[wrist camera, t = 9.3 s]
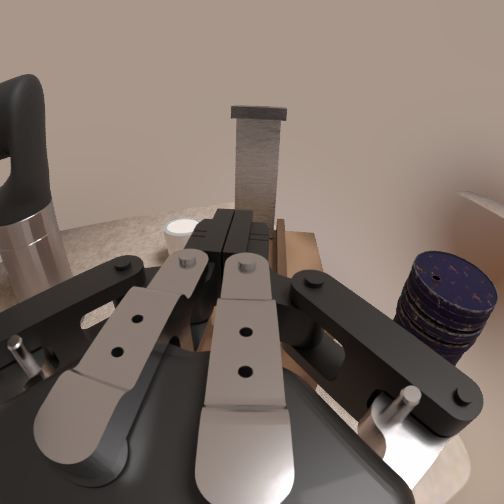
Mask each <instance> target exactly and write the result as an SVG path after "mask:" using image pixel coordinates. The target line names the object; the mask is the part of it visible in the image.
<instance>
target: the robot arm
mask: <svg viewBox="0 0 504 504" xmlns="http://www.w3.org/2000/svg"><path fill="white" fill-rule="evenodd" d="M46 150H47V149H46V132H45V103H44V94H43V89H42V86H41V84H40V81H39V80H38V78H37V77H36V76H34V75H31V74H26V75H22V76H19V77H15V78H13V79H10V80H7V81H5V82H2V83H0V160H1V159H4V158H7V157H11V173H10V176H9V178H8V179H7V181H6V182H5V183H4V185H3V186H1V187H0V255H1V258H2V260H3V263H4V266H5V268H6V276H7V279H8V281H9V283H10V286H11V288H12V290H13V292H14V295H15V297H16V299H17V301H18V303H19V304H17V305H15V306H13V307H11V308H9V309H7V310H5V311H3V312H1V313H0V504H415V500H414V496H413V493H412V491H411V489H412V487H413V486H414V485H415V484H416V483H417V482H418V480H419V479H420V478H421V477H422V475H423V474H424V473H425V472H426V470H427V469H428V468H429V467H430V465H431V464H432V463H433V461H434V460H435V459H436V457H437V456H438V454H439V453H440V452H441V450H442V449H443V447H444V446H445V444H446V443H447V442H448V441H449V440H450V439H452V438H453V437H454V436H455V435H457V434H458V433H459V432H460V431H461V430H462V429H463V428H465V427H466V426H467V425H468V424H469V423H470V422H472V420H474V419H475V418H476V417H477V416H478V415H479V414H480V412H481V410H482V407H483V395H482V392H481V391H480V388H479V387H478V385H477V384H476V383H475V382H474V381H473V380H472V379H470V378H469V377H468V376H467V375H465V374H464V373H463V372H461V371H460V370H459V369H457V368H456V367H455V366H453V365H452V364H451V363H450V362H448V361H447V360H446V359H444V358H443V357H442V356H440V355H439V354H438V353H436V352H435V351H434V350H432V349H431V348H430V347H428V346H427V345H426V344H424V343H423V342H422V341H420V340H419V339H417V338H416V337H415V336H413V335H412V334H411V333H409V332H408V331H407V330H405V329H404V328H403V327H401V326H400V325H398V324H397V323H396V322H394V321H393V320H392V319H390V318H389V317H387V316H386V315H385V314H383V313H382V312H380V311H379V310H378V309H376V308H375V307H373V306H372V305H371V304H369V303H368V302H366V301H365V300H364V299H362V298H361V297H360V296H358V295H356V294H355V293H354V292H353V291H351V290H349V289H348V288H347V287H345V286H344V285H343V284H341V283H340V282H338V281H337V280H335V279H334V278H333V277H331V276H330V275H328V274H326V273H324V272H322V271H318V270H310V269H309V270H302V271H299V272H297V273H295V274H294V275H293V276H292V278H288V277H285V276H282V275H280V274H278V273H276V272H275V271H273V270H272V269H271V268H270V266H269V263H268V259H269V235H270V228H269V227H268V226H267V224H266V223H265V222H253V210H238V209H236V211H235V209H219V208H218V209H217V211H216V213H215V215H214V217H213V219H204V220H202V221H201V222H199V223H198V224H197V225H196V227H195V228H194V231H193V232H192V234H191V236H190V238H189V240H188V241H187V243H186V245H185V247H184V249H182V250H178V251H176V252H174V253H172V254H171V255H169V257H168V258H167V259H166V261H165V262H164V263H163V265H162V266H159V267H151V268H144V265H143V261H142V260H141V259H140V258H139V257H137V256H132V255H125V256H120V257H117V258H114V259H112V260H110V261H107V262H105V263H103V264H101V265H98V266H96V267H94V268H92V269H90V270H87V271H85V272H83V273H81V274H79V275H77V276H74V277H73V275H72V272H71V269H70V266H69V262H68V259H67V256H66V252H65V249H64V246H63V242H62V238H61V235H60V231H59V227H58V223H57V219H56V215H55V211H54V206H53V201H52V197H51V191H50V183H49V168H48V159H47V151H46ZM111 301H113V304H114V307H115V310H114V312H113V313H112V315H111V316H110V317H109V318H107V319H105V320H103V321H101V322H99V323H97V324H95V325H94V326H92V327H90V328H88V329H81V326H80V323H81V322H82V320H83V318H84V315H85V314H87V313H89V312H91V311H93V310H95V309H97V308H99V307H101V306H103V305H105V304H107V303H109V302H111ZM214 306H216V313H215V321H214V328H213V336H212V344H211V351H202V349H203V346H204V343H205V340H206V338H207V335H208V332H209V329H210V326H211V324H212V313H213V309H214ZM324 331H327V332H328V333H329V334H330V335H331V336H332V337H334V338H335V339H336V340H337V341H338V342H339V343H340V344H341V345H342V346H343V348H344V349H343V348H342V347H341V346H340V345H339V344H337V343H336V342H335V341H334V340H333V339H332V338H330V337H329V336H328V335H327V334H326V333H325V332H324ZM280 342H281V343H282V348H283V349H284V351H285V352H286V353H287V354H288V355H289V356H290V357H291V358H292V359H293V360H294V361H295V362H296V363H297V364H298V365H299V366H300V367H301V368H302V369H303V370H304V371H305V372H306V373H307V374H308V375H309V376H310V377H311V378H312V379H313V380H314V381H315V382H316V383H317V384H318V385H319V386H320V387H321V388H323V389H324V390H325V391H326V392H327V393H328V394H329V395H330V396H331V397H332V398H333V399H334V400H335V401H336V402H337V403H338V404H339V405H340V406H341V407H343V408H344V409H345V410H346V411H347V412H348V413H349V414H350V415H351V416H352V417H353V418H354V419H355V420H357V421H358V422H359V424H358V435H357V434H356V433H355V432H354V431H353V430H352V429H351V428H350V427H349V426H348V425H347V423H346V422H345V421H344V420H343V419H342V418H341V417H340V416H339V415H338V414H337V413H336V412H335V411H334V410H333V409H332V408H331V407H330V406H329V405H328V404H327V403H326V402H325V401H324V400H323V399H322V398H321V397H320V396H319V395H318V394H317V393H316V391H315V390H314V389H313V388H312V387H311V386H310V385H309V384H308V383H307V382H306V381H305V380H303V379H302V378H301V377H300V376H298V375H297V374H295V373H294V372H292V371H290V370H288V369H286V368H284V367H282V359H281V349H280Z"/></svg>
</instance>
